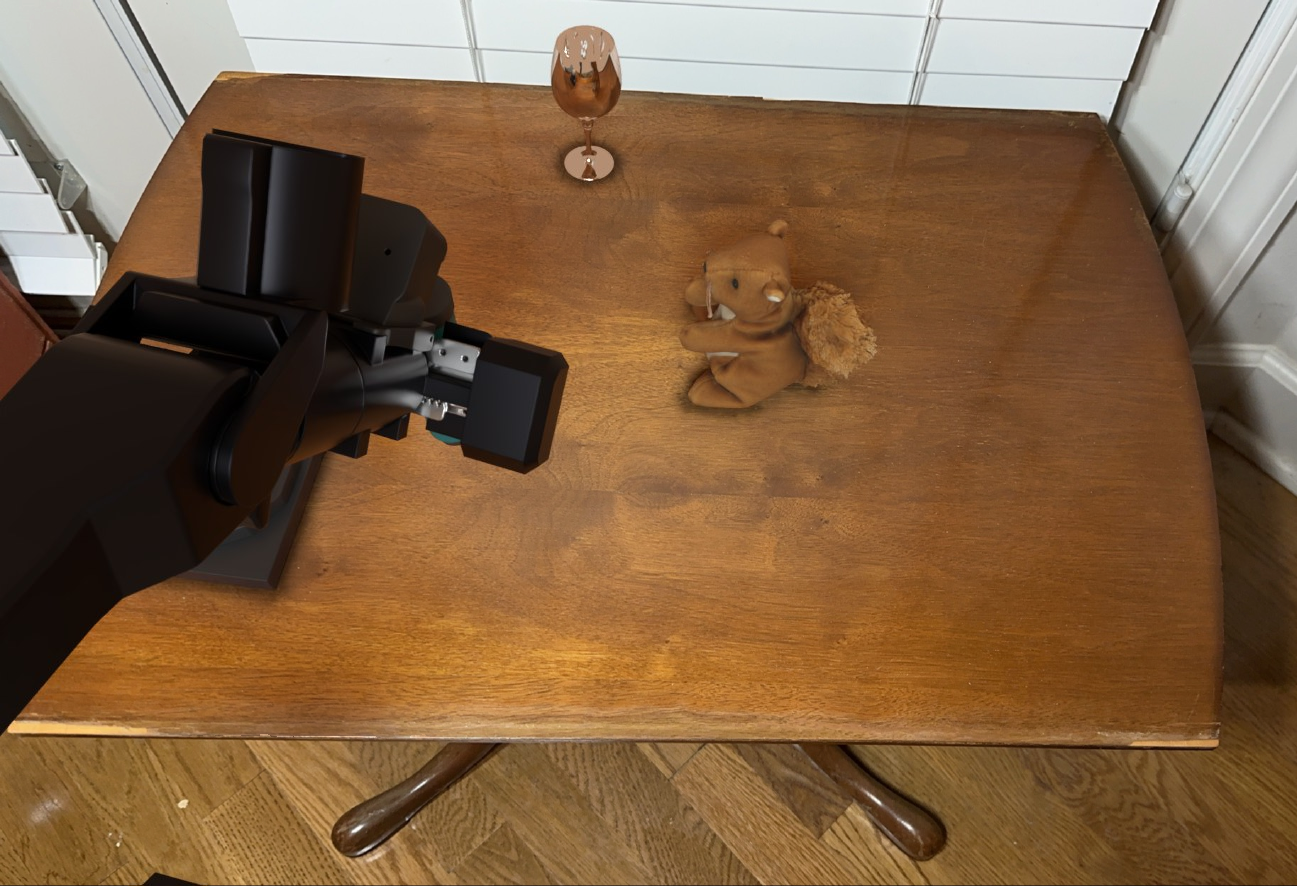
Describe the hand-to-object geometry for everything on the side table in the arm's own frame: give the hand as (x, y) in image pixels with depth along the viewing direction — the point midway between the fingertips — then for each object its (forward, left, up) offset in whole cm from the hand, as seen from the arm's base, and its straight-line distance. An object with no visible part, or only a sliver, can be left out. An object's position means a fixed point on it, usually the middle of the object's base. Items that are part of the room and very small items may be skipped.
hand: (448, 350), depth 55 cm
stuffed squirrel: (+11, -20, -13) cm, 26 cm away
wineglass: (+31, -3, -13) cm, 34 cm away
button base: (-5, +17, -13) cm, 21 cm away
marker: (-1, 0, -7) cm, 7 cm away
